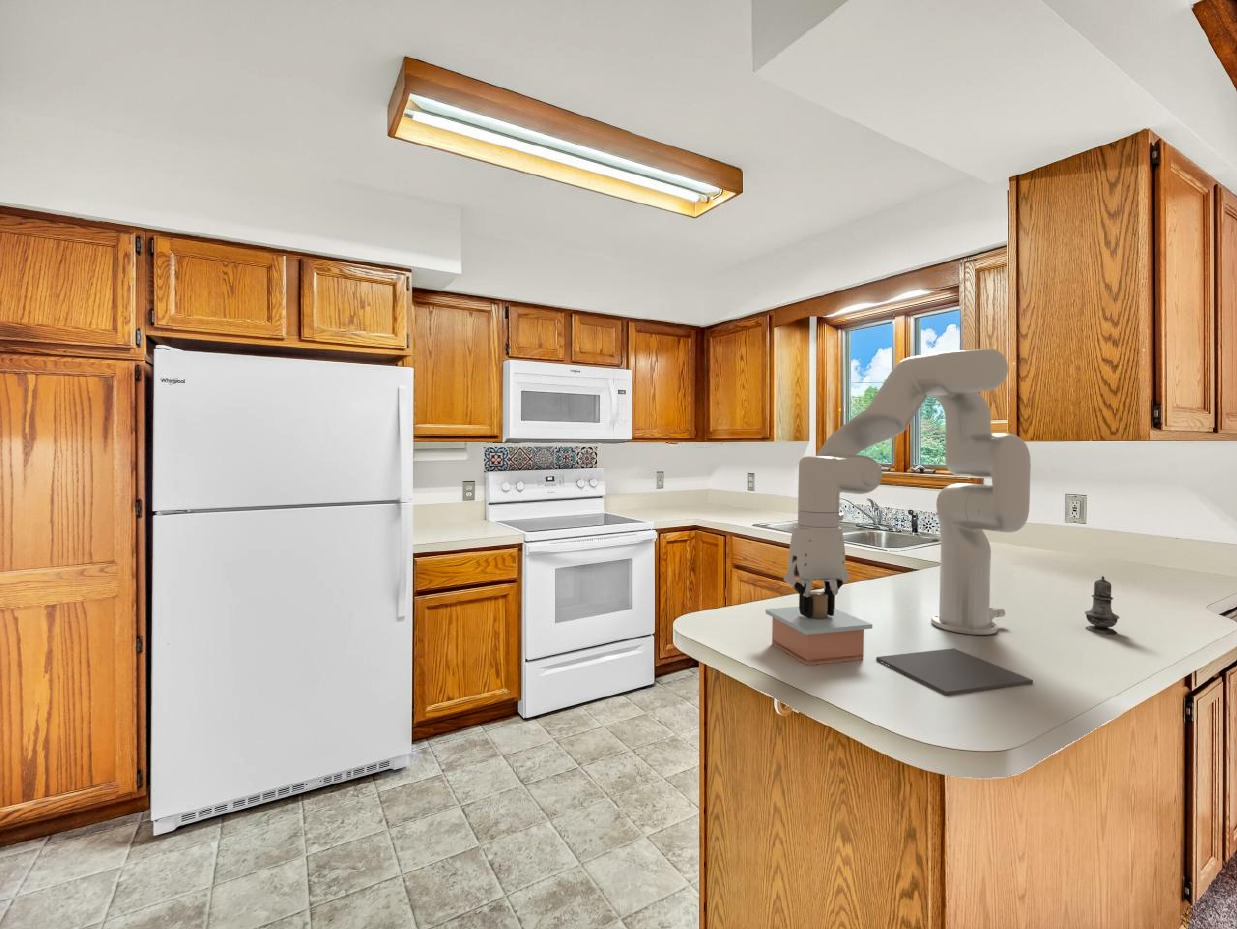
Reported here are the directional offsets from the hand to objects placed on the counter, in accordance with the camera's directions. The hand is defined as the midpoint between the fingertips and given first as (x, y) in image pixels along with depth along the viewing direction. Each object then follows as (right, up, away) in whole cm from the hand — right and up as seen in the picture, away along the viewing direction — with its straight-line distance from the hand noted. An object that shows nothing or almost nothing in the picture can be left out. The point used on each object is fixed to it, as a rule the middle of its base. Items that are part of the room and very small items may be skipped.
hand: (816, 613), depth 113 cm
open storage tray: (0, -7, 0) cm, 7 cm away
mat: (+20, -8, -9) cm, 24 cm away
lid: (0, -1, 0) cm, 1 cm away
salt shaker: (+67, -8, +14) cm, 69 cm away
